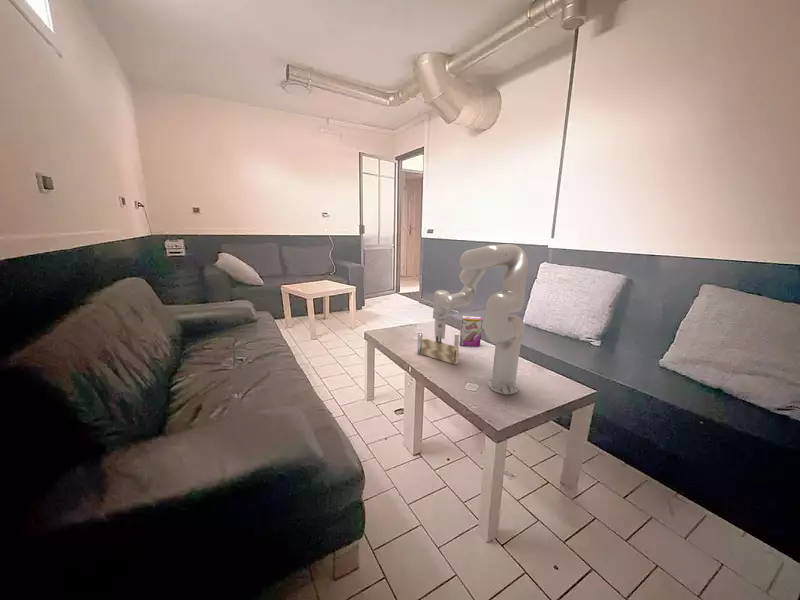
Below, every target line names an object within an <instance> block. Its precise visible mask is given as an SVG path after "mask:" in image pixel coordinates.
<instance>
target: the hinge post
mask: <svg viewBox="0 0 800 600" xmlns="http://www.w3.org/2000/svg"><path fill="white" fill-rule="evenodd" d="M423 337H424V336H423V333H422V332H419V333H417V350H416V351H417V353H416V354H417V355H419V356H421V355H422V354H421V352H422V338H423Z"/></svg>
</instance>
